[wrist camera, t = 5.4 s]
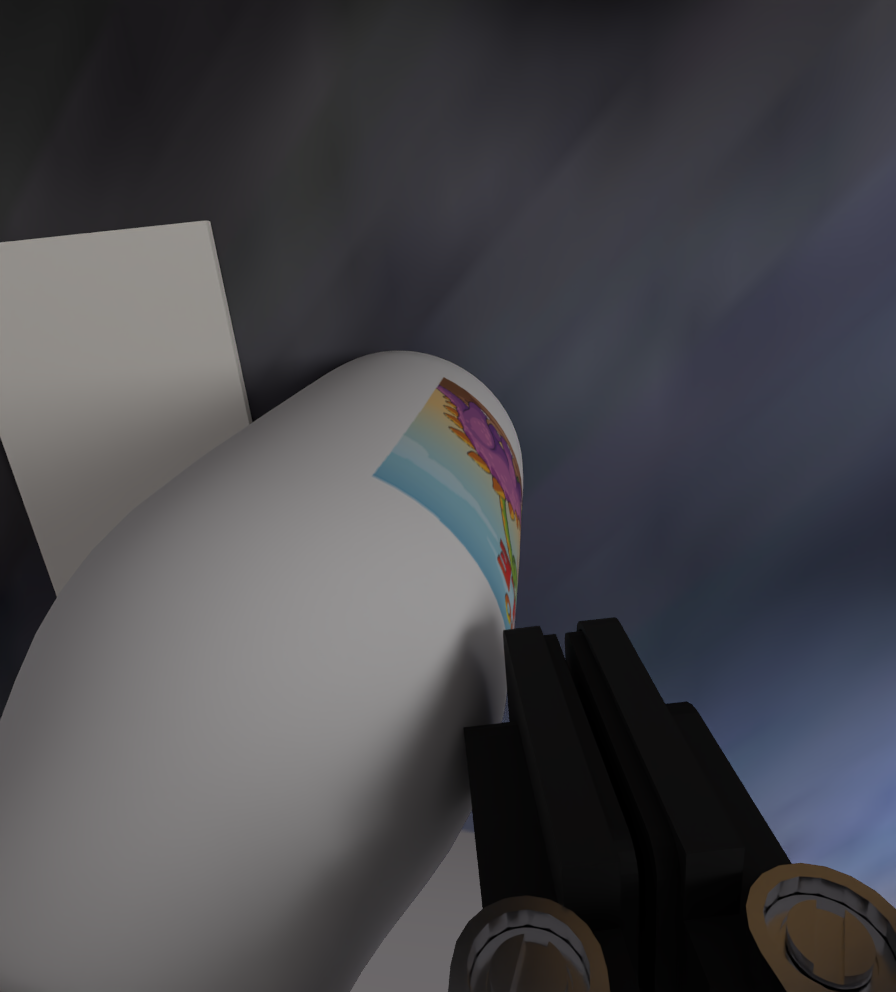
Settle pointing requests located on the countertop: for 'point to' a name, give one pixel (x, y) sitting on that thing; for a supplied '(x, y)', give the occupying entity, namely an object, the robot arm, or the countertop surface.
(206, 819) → the milk bottle
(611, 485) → the countertop surface
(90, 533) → the pad
